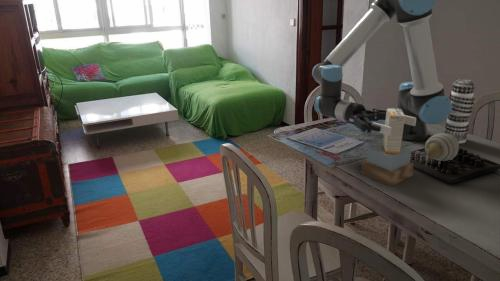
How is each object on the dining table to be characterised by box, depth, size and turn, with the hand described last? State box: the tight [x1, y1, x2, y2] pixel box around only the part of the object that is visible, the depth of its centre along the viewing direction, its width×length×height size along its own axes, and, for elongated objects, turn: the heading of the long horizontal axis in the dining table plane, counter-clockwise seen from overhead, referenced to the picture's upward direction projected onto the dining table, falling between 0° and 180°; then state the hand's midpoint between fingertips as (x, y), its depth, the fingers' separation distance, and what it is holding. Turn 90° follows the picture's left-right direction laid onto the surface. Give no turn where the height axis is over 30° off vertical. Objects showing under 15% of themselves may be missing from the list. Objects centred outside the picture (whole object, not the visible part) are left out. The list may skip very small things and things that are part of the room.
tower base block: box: [360, 159, 415, 187], centre depth 131 cm, size 12×12×5 cm
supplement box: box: [382, 108, 405, 154], centre depth 125 cm, size 8×5×13 cm, turn 168°
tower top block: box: [365, 142, 412, 171], centre depth 129 cm, size 10×10×5 cm
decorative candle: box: [443, 78, 477, 144], centre depth 154 cm, size 9×9×25 cm
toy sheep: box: [424, 132, 460, 161], centre depth 137 cm, size 11×17×11 cm, turn 130°
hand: (403, 126), depth 122 cm, fingers open, 13 cm apart
